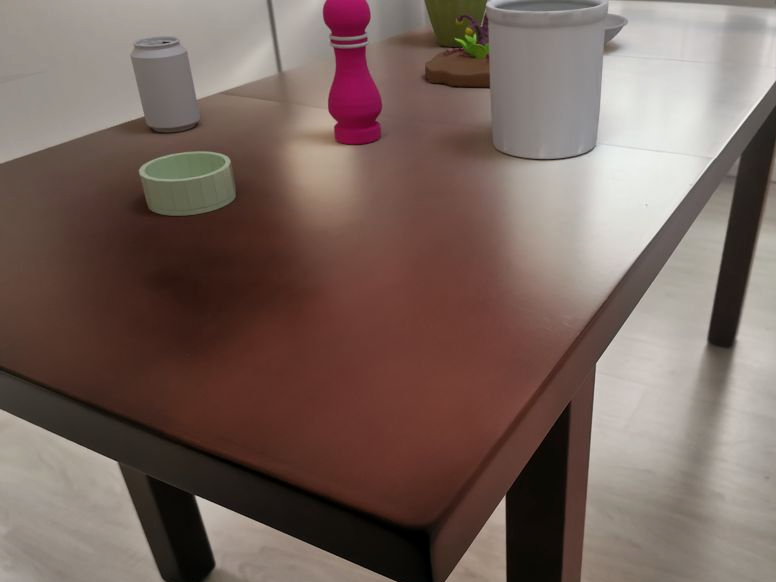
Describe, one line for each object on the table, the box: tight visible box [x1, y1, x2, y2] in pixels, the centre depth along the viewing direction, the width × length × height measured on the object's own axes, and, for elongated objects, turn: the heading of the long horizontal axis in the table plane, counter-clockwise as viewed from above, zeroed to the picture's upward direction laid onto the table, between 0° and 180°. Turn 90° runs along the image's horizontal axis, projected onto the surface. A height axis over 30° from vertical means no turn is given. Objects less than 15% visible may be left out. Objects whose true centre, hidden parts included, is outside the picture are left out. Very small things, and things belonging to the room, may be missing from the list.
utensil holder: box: [485, 0, 609, 160], centre depth 102 cm, size 15×15×18 cm
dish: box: [604, 13, 629, 44], centre depth 154 cm, size 18×14×5 cm
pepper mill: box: [322, 0, 383, 146], centre depth 105 cm, size 7×7×20 cm
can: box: [129, 35, 201, 133], centre depth 114 cm, size 8×8×12 cm
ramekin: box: [138, 150, 237, 217], centre depth 91 cm, size 10×10×4 cm
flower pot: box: [423, 0, 488, 48], centre depth 157 cm, size 15×15×16 cm
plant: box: [424, 11, 490, 88], centre depth 136 cm, size 20×20×11 cm
